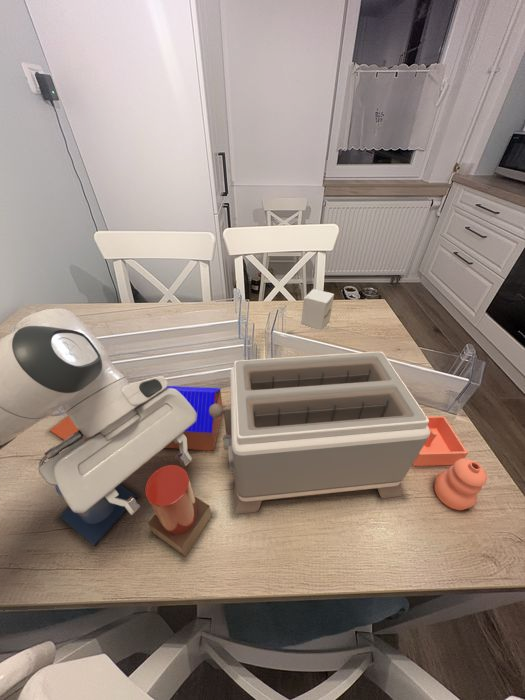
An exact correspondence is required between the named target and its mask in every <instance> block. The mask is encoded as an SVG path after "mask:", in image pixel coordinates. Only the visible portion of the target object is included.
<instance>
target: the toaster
mask: <svg viewBox="0 0 525 700" xmlns="http://www.w3.org/2000/svg"><path fill="white" fill-rule="evenodd" d="M229 383H230V385H229V386H230V387H229V388H230V404H229V405H227V406H224V407H223V406H222V407H223V409H222V407H221V405H219V404H213V405H211V406H210V408H209V414H210V415H211V416H212V417H213V418H218V417H220V416H221V417H222V415H223V417H224V418H223V419H224V425H225V426H224V427H225V434H224V435H223V438H222V439H223V448H224V451H227V452H228V456H227V458H228V464H229V465H228V466H229V472H230V473H233V472H234V479H235V480H234V484H233V502H234V503H233V507H234V508H233V509H234V510H233V513H234V515H239V514H240V515H241V514H248V513H258V512H259V510H260V507H261V504H262V502H263V501H269V500H270V501H271V500H279V499H288V498H297V497H298V498H299V497H308V496H316V495H327V494H336V493H346V492H355V491H365V490H375V489H377V492H378V494H379V497H380V498H381V499H389V498H399V497H403V491H402V487H401V484H402V482H403V481H404V478H405V477H406V476H407V474H408V473H409V471H410V469H411V468H412V466H413V465H412V464H413V462H414V461H415V459H416V457H417V456H418V454H419V452H420V451H421V449H422V447H423V446H424V444H425V442H426V441H427V439H428V437H429V435H430V429H429V427H428V423H429V419H428V418H427V416H428V415H426V414H425V412H424V410H423V409H422V407H421V406H420V404H419V403H418V402H417V400H416V398H415V397H414V396H413V394H412V392H410V390H409V389H408V387H407V385H406V383H404V381H403V379H402V378H401V377H400V375H399V374H398V372H397V371H396V369H395V367H394V366H393V365H392V363H391V361H390V360H389V358H388V357H387V356H386V354H385V353H384V352H383V351H381V350H380V351H363V352H349V353H348V352H347V353H333V354H316V355H303V356H302V355H301V356H287V357H271V358H257V359H241V360H234V362H233V366H232V367H231V369H230V372H229Z"/></svg>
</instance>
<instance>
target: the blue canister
mask: <svg viewBox="0 0 525 700" xmlns="http://www.w3.org/2000/svg"><path fill="white" fill-rule="evenodd" d="M54 488H55V492H56V493H57V494H58V495H59V496H60V497H61V499H62V500H63V501H64V502H65V503H66V504H67V502H66V500H65V499H64V497H63V495H62V493H61V491H60V489H59V487H58V485H54ZM115 506H116V504H113V503H110V502H109V501H108V500H107V499H106V498H105V496H104V497H103V498H102V499H101V500H99V501H98V502H97V503H96V504H95V505H93V506H92V507H91V508H90V509H88V510H87V511H86V512H84V513H76V514H77V515H78V516H79V517H80V518H81V519H82V520H83V521H84V522H85V523H88V524H95V523H99V522H101V521H103V520H104V519H106V518H107V517H108V516H109V515H110V514H111V513H112V512H113V510H114V508H115Z"/></svg>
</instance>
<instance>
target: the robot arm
mask: <svg viewBox="0 0 525 700" xmlns="http://www.w3.org/2000/svg"><path fill="white" fill-rule="evenodd" d="M167 386H169V382H168V380H167V379H166V377H164V376H163V375H158V376H154V377H150V378H147V379H144V380H139V381H135V382H132V383H131V382H130V381H129V380H128V379H127V377H126V376H125V375H124V374H123V373H121V372H120V371H119V370H118V369H117V368H116V367H115V365H114V364H113V362H112V360H111V356H110V353H109V352H108V351H107V350H106V347H105V346H104V345H103V343H101V342H100V340H99V338H98V337H97V336H96V335H95V334H94V333H93V332H92V331H91V329H90V328H89V327H88V326H87V325H86V324H85V323H84V322H83V320H81V318H79V317H78V316H77V315H76V314H75V313H73V312H72V311H70V310H69V309H65V308H59V307H55V308H54V307H53V308H46V309H40V310H37V311H35V312H32V313H30V314H28V315H26V316H24V317H23V318H21V319H20V320H19V321H17V323H16V324H15V326H14V330H13V331H11V332H10V333H8V334H6V335H4V336H3V337H2V338H0V451H1V450H3V448H5V447H6V446H7V445H9V444H10V443H11V442H12V441H14V440H15V439H16V438H17V437H18V436H20V435H21V434H23V433H24V432H26V431H27V430H29V429H30V428H32V427H34V426H35V425H36V424H38V423H40V422H41V421H44V420H45V419H46V418H47V417H49V416H50V415H51V414H53V413H55V412H56V411H57V410H59V409H60V408H62V409H63V410H64V412H65V414H66V415H67V417H68V416H69V418H70V419H71V420H72V422H73V423H74V424H75V426H76V427H77V429H78V431H77V432H76V433H74V434H73V435H71V436H69V437H68V438H66V439H65V440H63V441H61V442H60V443H58V444H57V445H55V446H52V447H50V448H48V449H47V451H45V452H44V456H43V457H42V458H41V459H40V461H39V462H38V468H37V471H38V473H39V474H40V476H41V477H42V478H43V480H44V481H45V482H46V484H48V485H51V486H55V485H58V487H59V489H60V491H61V493H62V495H63V497H64V499H65V500H66V502H67V503H66V502H65V503H66V504H67V505H68V508H69V507H70V508H71V510H72V511H73V512H75V513H84V512H86V511H87V510H88V509H90V508H91V507H92V506H93V505H95V504H96V503H97V502H98V501H99V500H101V499H102V498H103V497H104V496H105V498H106V499H107V500H108V501H109V502H110V503H113V504H116V505H120V506H123V507H125V508H126V512H128V514H129V515H130V516H133V515H134V514H135V513H136V512H137V511H138V510H139V509H140V508H141V505H140V504H139V503H138V502H137V500H136V499H134V497H132V496H131V497H130V498H129V499H128V500H124V499H120V498H117V496H118V492H117V491H116V490H115V487H117V486H118V485H119V484H120V485H121V484H122V483H123V482H124V481H125V480H127V479H128V478H129V477H131V475H133V474H134V473H135V472H137V471H138V470H139V469H140V468H141V467H143V466H144V465H145V464H147V463H148V461H150V460H151V459H152V458H153V457H155V456H156V455H157V454H159V453H160V452H161V451H162V450H163V449H165V448H164V447H166V446H167V445H168V444H169V443H171V442H172V441H174V442H175V443H179V449H178V450H179V454H178V455H177V456H176V457H175V458H176V460H177V461H178V462H179V463H180V465H181V467H187V466H188V465H189V464H190V463H191V462H192V461H193V457H192V456H191V454H190V453H189V452H188V450H189V449H187V438H186V436H185V435H184V433H183V432H184V431H185V430H186V429H188V428H189V427H190V426H191V425H193V424H194V423H195V422H196V421H197V413H196V411H195V410H194V408H193V407H192V406H191V404H190V403H189V402H188V401H187V400H186V398H185V397H184V396H183V395H182V394H181V393H180V392H179V391H177V390H175V389H173V388H167ZM166 388H167V389H166ZM82 436H83V437H84V438H85V439H86V440H85V439H84V438H83V437H82ZM87 439H88V440H87ZM47 459H48V460H47Z"/></svg>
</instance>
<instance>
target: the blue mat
mask: <svg viewBox="0 0 525 700" xmlns="http://www.w3.org/2000/svg"><path fill="white" fill-rule="evenodd" d="M115 490H116V491H117V492H118V496H117V498H120V499H124V500H128V499H129V498H130V497H131V496H132V497H134V499H135V500H136V499H138V496H137V495H136V494H135V493H133V492H132V491H131V490H129V489H127V488H126V487H124V486H123V485H122V484H121V483H120V484H119V485H118V486H117V487H115ZM125 512H127V510H126V508H125V507H123V506H120V505H116V506H115V508H114V510H113V512H112V513H111V514H110V515H109V516H108V517H107V518H106V519H104V520H103V521H101V522H99V523H95V524H88V523H85V522H84V521H83V520H82V519H81V518H80V517H79V516H78V515H77V514H76V513H75V512H73V511H72V510H71V508H70V507H69V506H68V507H67V508H66V509H65V510H64V512H61V514H60V515H59V518H60V519H61V520H63V522H65V523H66V524H67V525H69V526H70V527H71V528H72V529H73V530H75V531H76V532H77V533H78V534H79V535H80V536H82V537H83V538H84V539H85V540H86V541H88V542H89V543H90V544H91V545H93V546H94V547H96V545H97V544H98V543H99V542H100V541H101V540H102V538H104V537H105V535H106V534H107V533H108V532H109V531H110V529H111V528H112V527H113V526H114V525H115V524H116V523H117V521H118V520H119V519H120V518H121V517H122V515H124V513H125Z"/></svg>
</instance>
